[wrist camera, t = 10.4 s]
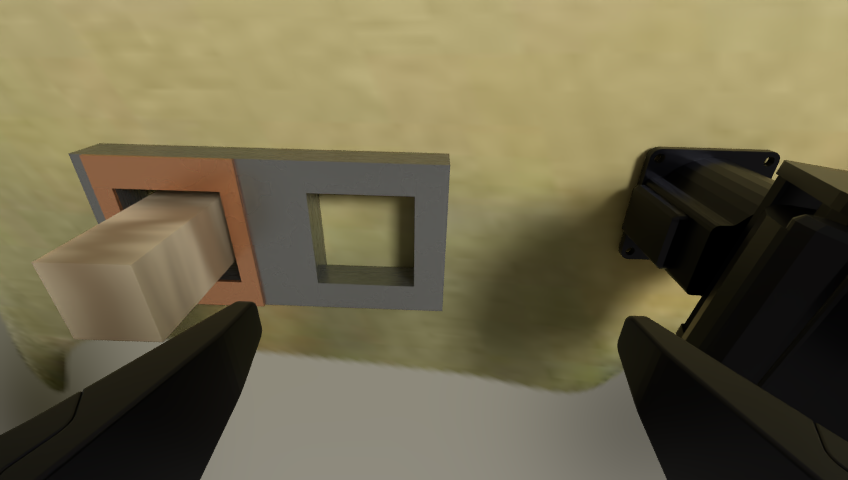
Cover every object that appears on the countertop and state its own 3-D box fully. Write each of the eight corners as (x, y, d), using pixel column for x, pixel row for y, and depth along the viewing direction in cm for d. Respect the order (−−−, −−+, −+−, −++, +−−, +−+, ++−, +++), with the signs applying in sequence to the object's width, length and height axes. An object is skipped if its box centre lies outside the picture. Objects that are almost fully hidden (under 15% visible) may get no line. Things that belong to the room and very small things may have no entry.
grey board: (449, 153, 21) (450, 166, 19) (441, 291, 25) (442, 313, 23) (99, 143, 21) (65, 154, 19) (151, 280, 25) (128, 301, 23)
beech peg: (229, 190, 22) (131, 265, 15) (244, 250, 24) (163, 342, 17) (160, 188, 22) (31, 262, 15) (180, 249, 24) (74, 339, 17)
